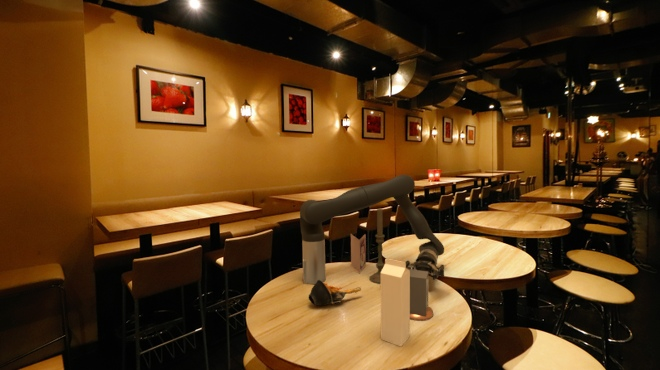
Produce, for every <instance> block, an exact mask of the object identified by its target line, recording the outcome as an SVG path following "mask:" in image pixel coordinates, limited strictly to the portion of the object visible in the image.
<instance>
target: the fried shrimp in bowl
mask: <svg viewBox="0 0 660 370" xmlns="http://www.w3.org/2000/svg"><path fill="white" fill-rule="evenodd" d="M341 289H343V287H342V286H339V287H337V286H333V285H328V283H327V282H322V281H320V280H317V282H316V284H313V286H312V288H311V290H310V293H309V294H308V300H309V302H310V303H311V304H312V305H313V306H314V307H315V306H325V305H328V304H329V305H338V304H340V303H341V302H342V300H343V299H344V298H345V297H346V295H347V294H353V293H356V294H357V293H358V292H361V291H362V287H361V286H360V287H359V286H356V287H354V288H350V289H346V290H341Z"/></svg>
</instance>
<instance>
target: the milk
mask: <svg viewBox="0 0 660 370" xmlns="http://www.w3.org/2000/svg"><path fill="white" fill-rule="evenodd" d="M405 262H406V261H403V260H401V261H400V260H396V259H392V258H391V259H390V258H385V260H384V267H383V269H382V271H381V284H380V339H381V340H382V341H385V342H388V343H391V344H393V345H395V346H398V347H403V345H404V344H405V343H406V342H407V341H408V339H409V338H410V336H411V335H410V334H411V331H410V330H411V324H410V323H411V319H410V270H408V269H407V268H406V263H405Z"/></svg>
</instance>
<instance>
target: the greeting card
mask: <svg viewBox="0 0 660 370" xmlns="http://www.w3.org/2000/svg"><path fill="white" fill-rule="evenodd" d="M366 239H367V238H366V233H365V234H364V235H362V236H361V238H360V239H359V238H357V237H356V236H354V235H353V234H352V233H350V263H351V264H350V265H351V267H352V268H354V269H355V270H356V272H357V273H359V274H361V272H363V270H364V268H365V267H366V265H367V253H366V252H367V248H366V247H367V245H366V244H367V243H366V242H367V240H366Z"/></svg>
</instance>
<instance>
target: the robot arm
mask: <svg viewBox="0 0 660 370" xmlns="http://www.w3.org/2000/svg"><path fill="white" fill-rule="evenodd" d="M415 185H416V184H415V179H413V178H412V176H410V175H408V174H399V175H397V176H395V177H392V178H390V179H387V180H386V181H383V182H376V183H372V184H368V185H363V186H362V185H361V186H359V187H355V188H352V189H349V190H346V191H344V192H343V193H342V194H339V195H338V196H337V197H333V198H330V199H326V200H320V201H318V200H315V199H308V200H306V201H304V202H303V203H302V204H301V206H300V210H299V218H300V219H299V223H300V233H301V240H302V243H301V245H302V281H303V284H309V285H310V284H311V285H315V284H316V282H317V280H320V281H322V282H323V283H325V281H326V246H325V245H326V242H325V238H326V237H325V232H324V228H323V223H324V222H326V221H328V220H331V219H333V218H335V217H338V216H342V215H346V214H349V213H352V212H356V211H359V210H363V209H365V208H366V209H367V208H369V207H371V206H374V205H377V204H379V203H381V202H383V201H386V200H388V199H391V198H392V199H394V201H395V202H396V204H397V205H398V206H399V208H400V209H401V211H402V212H403V214H404V215H405V217H406V219H407V221H408V222H409V225H410V227H411V229H412V231H413V233H414V234H415V237H416V238H417V239H418V240H428V241H427V242H424V243H421V244H420V245H419V247H418V252H419V253H418V256H417V258H416V259H415V261H414V262H413V263H412V262H410V260H406V261H404V262H405V263H406V268H407V269H412V270H420V271H428V272H429V276H432V281H433V280H434V281H435V280H437V279H438V277H439V276H440V277H441V278H444V277H445V265H444V264H440V265H439V266H437V264H438V258H439V256H442V255H443V254H444V253H445V247H444V245H443V243H442V241H440V239H439V238H438V237H437V236H436V235H435V234H434V233H433V231H432V230H431V227H430V226H429V223H428V221H427V219H426V218H425V216H424V214H422V212H421V211H420V210H419V209H418V208H417V207H416V206H415V204H414V203H413V202H412V200H411V199H410V198H411V197H409V194H410V193H412V192H413V190H414V189H415Z"/></svg>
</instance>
